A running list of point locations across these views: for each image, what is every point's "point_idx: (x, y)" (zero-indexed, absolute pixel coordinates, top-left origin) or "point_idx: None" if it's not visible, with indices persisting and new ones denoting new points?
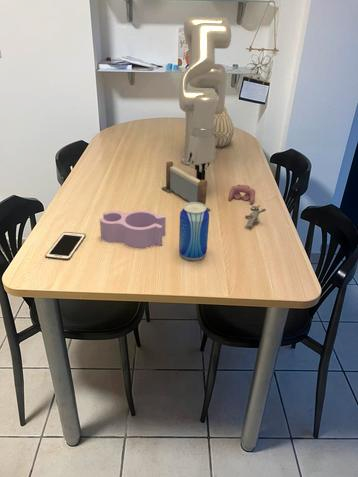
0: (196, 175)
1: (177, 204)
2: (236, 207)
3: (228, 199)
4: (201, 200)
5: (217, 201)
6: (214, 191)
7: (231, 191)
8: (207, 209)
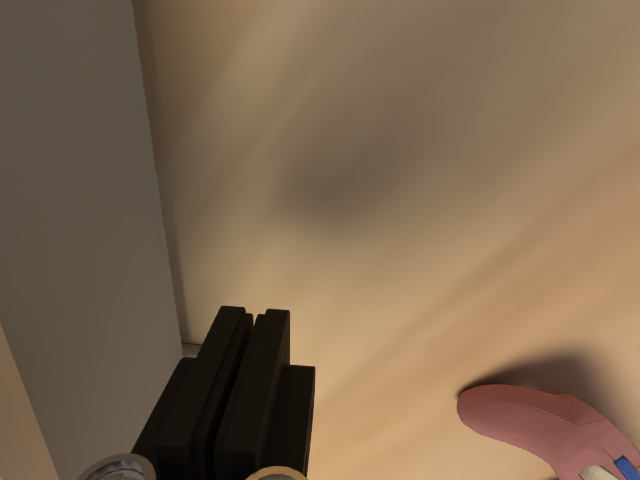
0: (165, 389)
1: None
2: (418, 466)
3: (462, 398)
4: None
5: (381, 353)
6: (528, 208)
7: (520, 446)
8: None
